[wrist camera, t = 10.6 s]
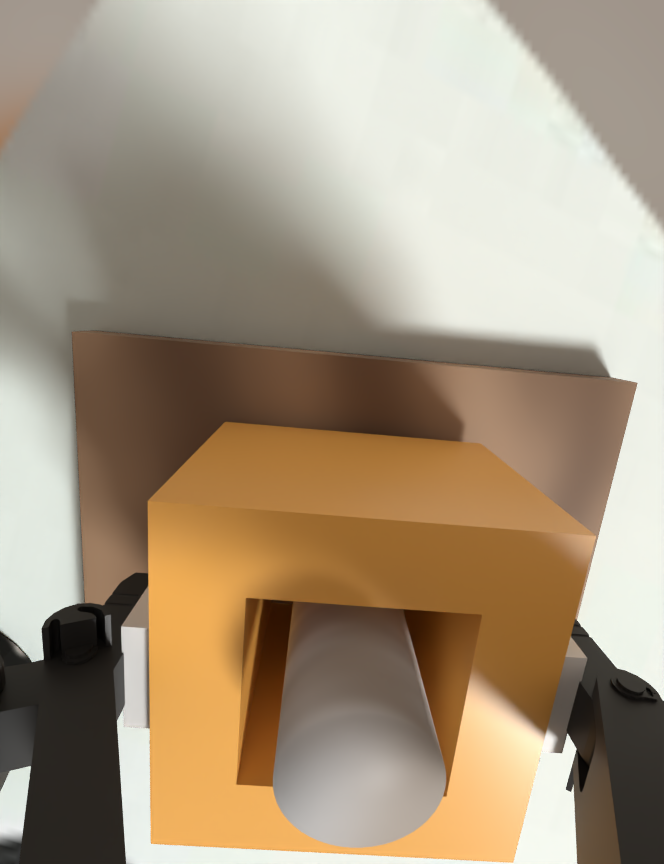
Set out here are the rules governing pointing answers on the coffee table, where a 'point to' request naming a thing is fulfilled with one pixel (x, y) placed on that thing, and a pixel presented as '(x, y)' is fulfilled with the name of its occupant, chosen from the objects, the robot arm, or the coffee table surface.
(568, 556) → the collar
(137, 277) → the coffee table surface
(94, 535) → the post board
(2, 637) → the white-spotted black cylinder
